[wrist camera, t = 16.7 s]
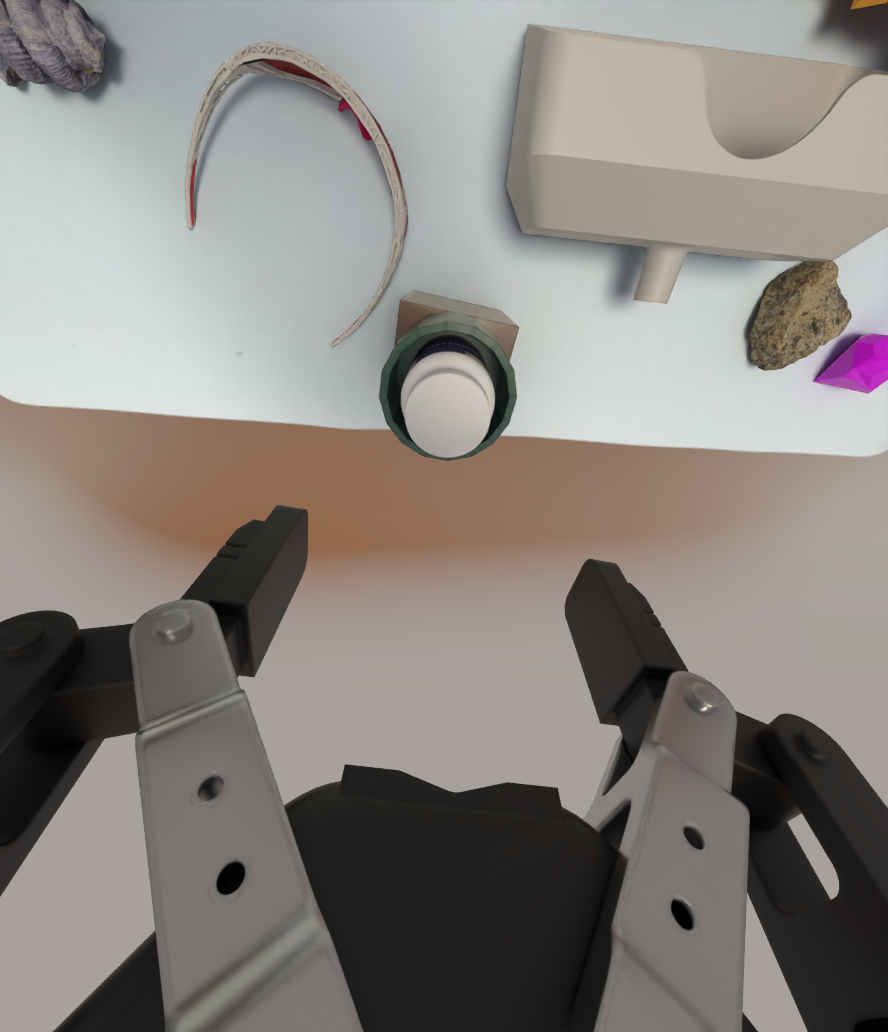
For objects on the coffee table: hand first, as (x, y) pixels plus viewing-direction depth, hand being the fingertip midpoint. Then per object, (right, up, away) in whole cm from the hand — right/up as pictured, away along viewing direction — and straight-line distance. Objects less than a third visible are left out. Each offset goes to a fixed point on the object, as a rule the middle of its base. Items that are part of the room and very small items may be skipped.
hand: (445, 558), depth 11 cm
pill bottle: (0, +12, +18) cm, 22 cm away
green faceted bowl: (0, +12, +19) cm, 22 cm away
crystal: (+41, +17, +29) cm, 54 cm away
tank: (+18, +29, +22) cm, 40 cm away
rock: (+37, +20, +27) cm, 51 cm away
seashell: (-29, +36, +18) cm, 49 cm away
